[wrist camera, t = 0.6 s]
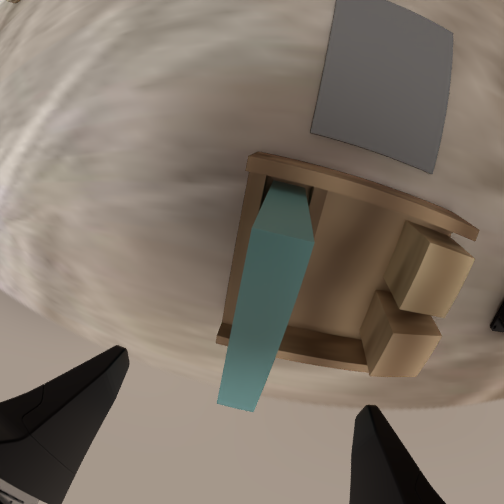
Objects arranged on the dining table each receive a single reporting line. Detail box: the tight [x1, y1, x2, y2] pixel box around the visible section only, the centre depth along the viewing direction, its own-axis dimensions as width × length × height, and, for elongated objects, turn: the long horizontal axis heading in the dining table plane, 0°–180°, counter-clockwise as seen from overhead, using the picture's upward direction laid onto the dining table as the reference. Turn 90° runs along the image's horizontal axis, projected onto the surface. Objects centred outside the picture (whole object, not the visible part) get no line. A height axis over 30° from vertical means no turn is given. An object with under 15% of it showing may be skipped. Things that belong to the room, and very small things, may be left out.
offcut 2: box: [359, 290, 442, 377], centre depth 17 cm, size 4×4×5 cm
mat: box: [310, 0, 453, 174], centre depth 13 cm, size 9×12×1 cm
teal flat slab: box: [217, 180, 315, 412], centre depth 15 cm, size 2×10×9 cm, turn 169°
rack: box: [216, 152, 479, 373], centre depth 17 cm, size 15×13×4 cm
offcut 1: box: [383, 220, 475, 318], centre depth 15 cm, size 4×4×4 cm
